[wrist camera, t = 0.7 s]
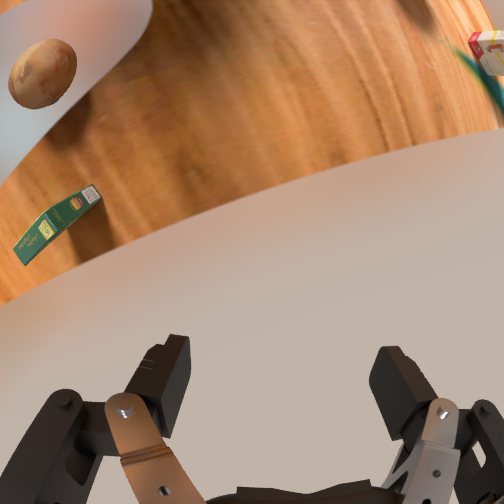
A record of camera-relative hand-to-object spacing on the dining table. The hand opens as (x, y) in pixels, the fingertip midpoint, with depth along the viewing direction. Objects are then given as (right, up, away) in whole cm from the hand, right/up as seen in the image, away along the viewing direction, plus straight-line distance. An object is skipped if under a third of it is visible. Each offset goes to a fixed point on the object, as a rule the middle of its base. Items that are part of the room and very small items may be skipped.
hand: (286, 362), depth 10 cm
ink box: (+43, +43, +15) cm, 63 cm away
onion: (-28, +29, +14) cm, 43 cm away
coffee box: (-26, +11, +23) cm, 37 cm away
